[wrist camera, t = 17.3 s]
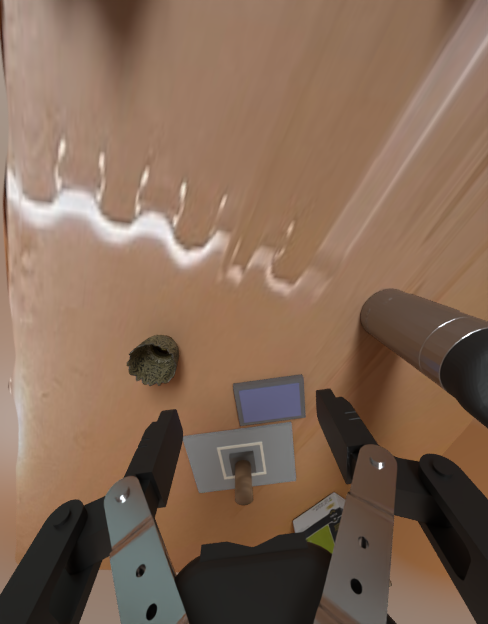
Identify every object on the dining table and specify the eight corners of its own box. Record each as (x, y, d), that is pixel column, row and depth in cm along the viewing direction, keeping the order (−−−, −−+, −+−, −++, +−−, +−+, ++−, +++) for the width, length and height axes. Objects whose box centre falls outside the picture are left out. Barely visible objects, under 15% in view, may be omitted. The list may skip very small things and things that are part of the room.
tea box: (315, 533, 63) (338, 618, 50) (291, 519, 61) (308, 604, 47) (357, 506, 60) (394, 588, 46) (334, 489, 58) (365, 571, 44)
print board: (290, 422, 50) (291, 424, 49) (295, 478, 56) (296, 481, 55) (183, 436, 50) (182, 439, 49) (199, 490, 56) (199, 494, 55)
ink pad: (301, 374, 45) (303, 378, 44) (303, 413, 49) (306, 418, 47) (233, 383, 46) (233, 388, 44) (240, 421, 49) (240, 427, 48)
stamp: (253, 450, 51) (256, 488, 44) (255, 467, 53) (259, 506, 45) (229, 453, 51) (228, 491, 44) (232, 470, 53) (232, 509, 46)
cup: (179, 365, 44) (167, 392, 36) (141, 353, 43) (121, 378, 35) (191, 332, 42) (181, 354, 34) (151, 318, 40) (132, 338, 33)
